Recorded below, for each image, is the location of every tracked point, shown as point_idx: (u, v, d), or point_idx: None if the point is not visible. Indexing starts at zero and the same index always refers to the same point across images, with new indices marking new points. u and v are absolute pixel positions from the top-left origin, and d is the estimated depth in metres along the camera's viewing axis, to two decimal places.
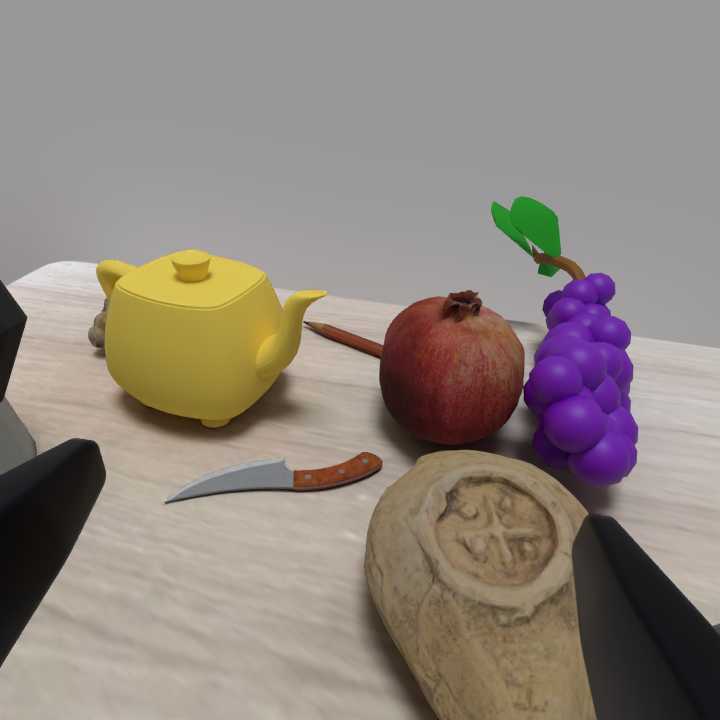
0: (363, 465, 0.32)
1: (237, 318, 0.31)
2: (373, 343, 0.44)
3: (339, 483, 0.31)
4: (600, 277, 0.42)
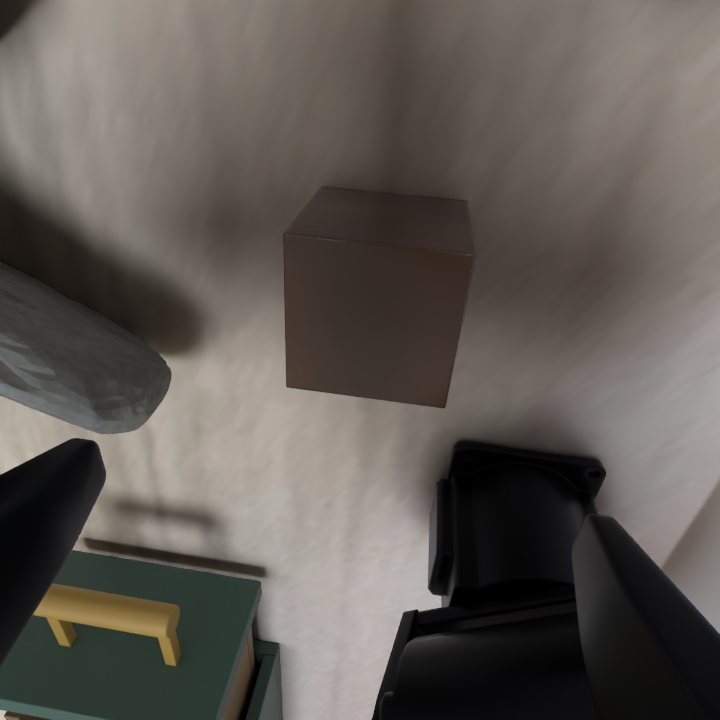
0: None
1: None
2: None
3: None
4: None
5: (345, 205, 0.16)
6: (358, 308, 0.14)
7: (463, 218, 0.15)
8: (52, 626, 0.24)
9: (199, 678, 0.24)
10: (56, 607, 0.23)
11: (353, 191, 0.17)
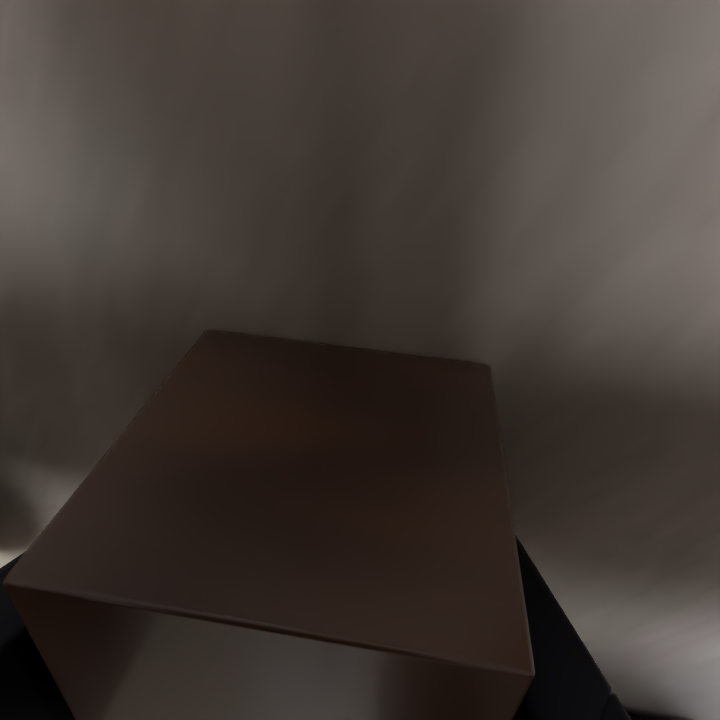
0: None
1: None
2: None
3: None
4: None
5: (232, 401, 0.07)
6: (230, 717, 0.06)
7: (488, 444, 0.07)
8: None
9: None
10: None
11: (265, 344, 0.09)
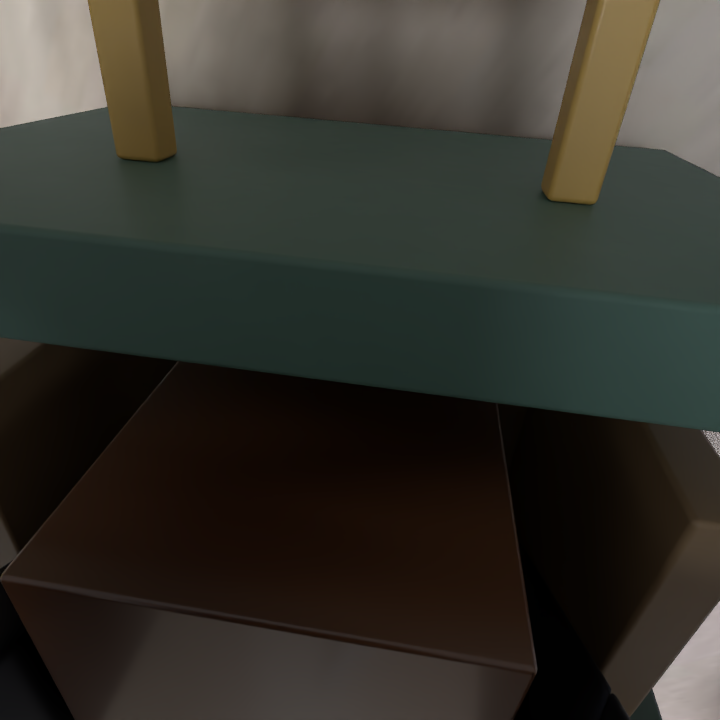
0: None
1: None
2: None
3: None
4: None
5: (232, 398, 0.07)
6: (230, 715, 0.06)
7: (489, 441, 0.07)
8: None
9: None
10: None
11: None
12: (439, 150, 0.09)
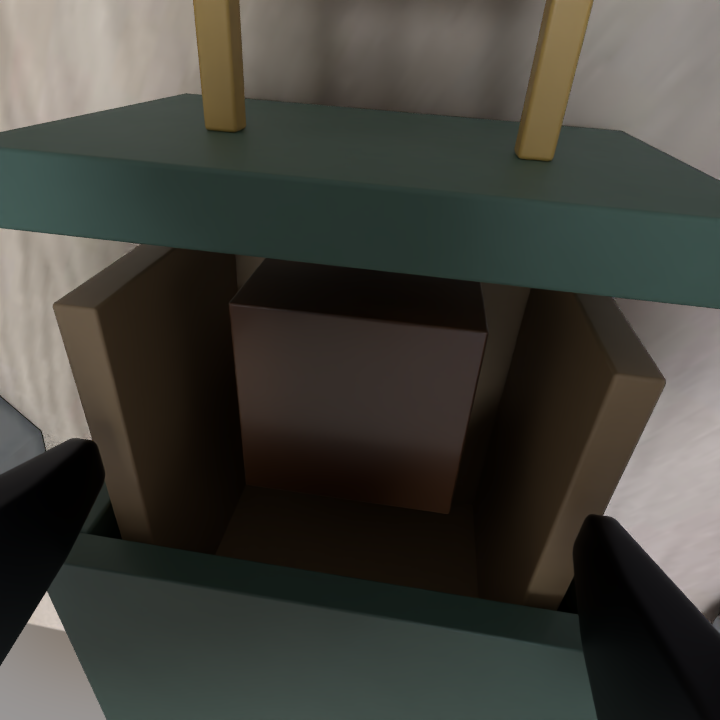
0: None
1: None
2: None
3: None
4: None
5: None
6: (332, 396, 0.11)
7: None
8: (201, 11, 0.08)
9: (638, 174, 0.08)
10: None
11: None
12: (440, 128, 0.11)
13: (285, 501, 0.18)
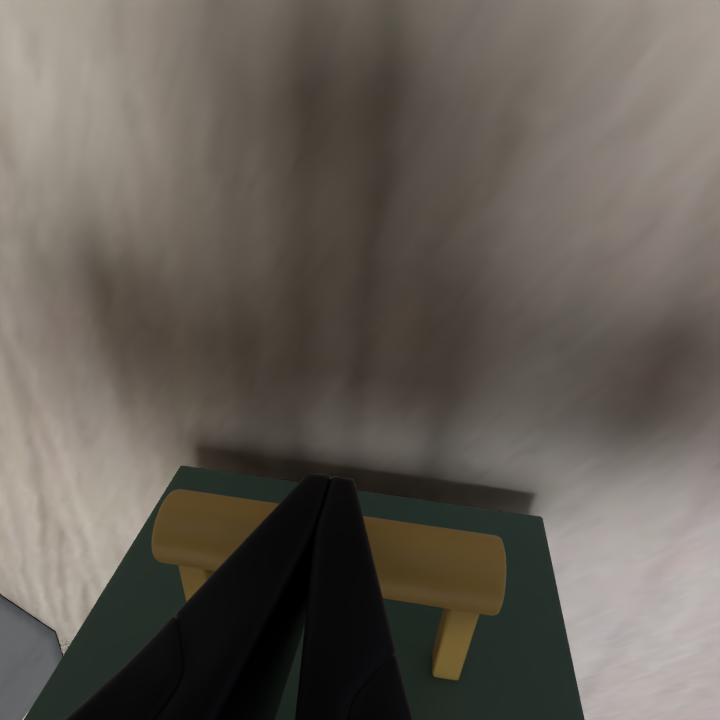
0: None
1: None
2: None
3: None
4: None
5: None
6: None
7: None
8: (189, 592, 0.11)
9: (519, 708, 0.11)
10: (218, 540, 0.09)
11: None
12: None
13: None
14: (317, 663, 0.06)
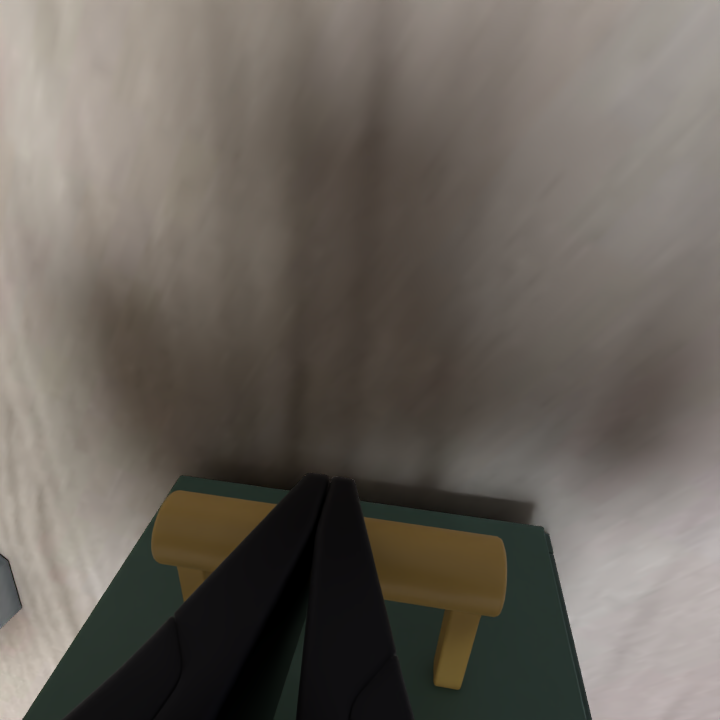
0: None
1: None
2: None
3: None
4: None
5: None
6: None
7: None
8: (187, 596, 0.11)
9: (522, 718, 0.11)
10: (218, 539, 0.09)
11: None
12: None
13: None
14: (318, 663, 0.06)
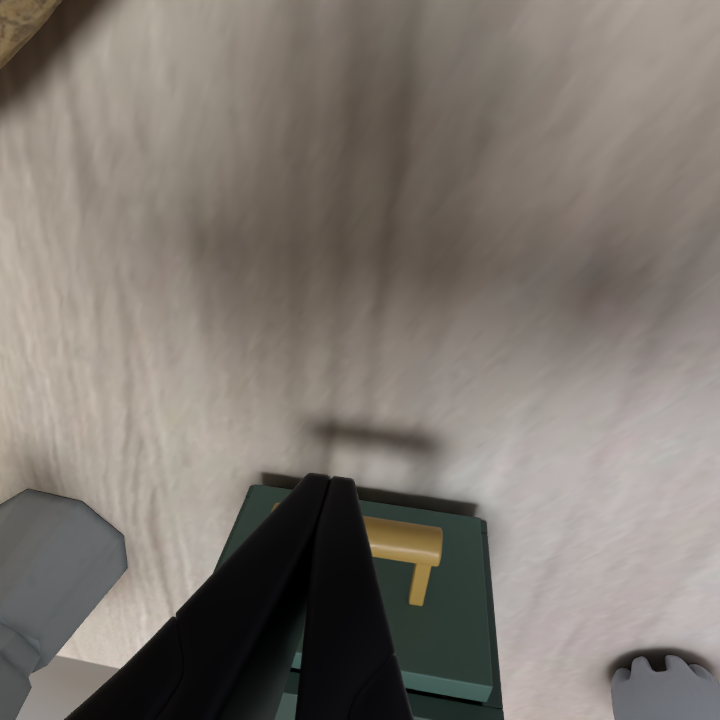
0: None
1: None
2: None
3: None
4: None
5: None
6: None
7: None
8: None
9: (454, 619, 0.20)
10: None
11: None
12: None
13: None
14: (317, 663, 0.06)
